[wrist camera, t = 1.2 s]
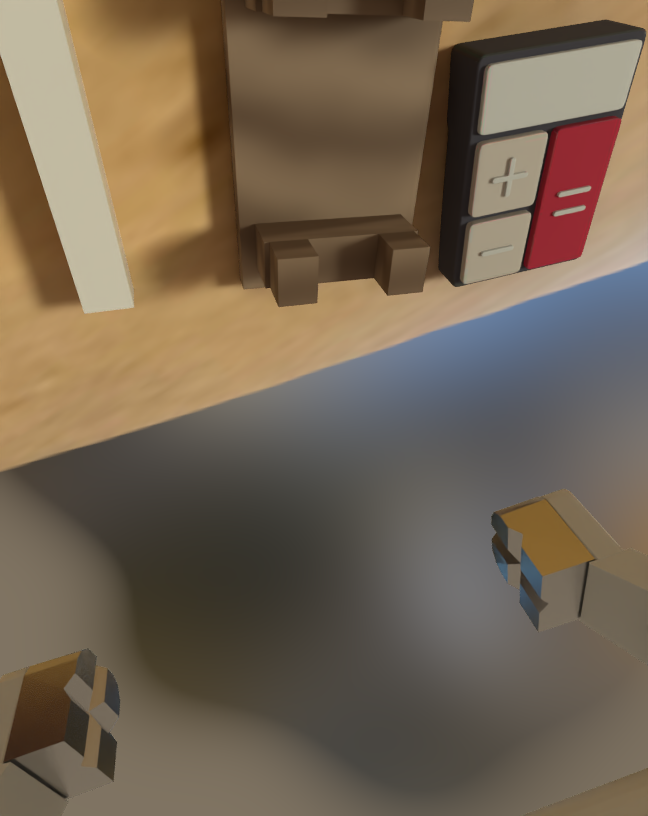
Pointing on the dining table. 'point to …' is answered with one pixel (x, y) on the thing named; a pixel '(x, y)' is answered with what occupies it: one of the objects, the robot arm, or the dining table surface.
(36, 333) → the dining table surface
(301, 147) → the rack
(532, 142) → the calculator
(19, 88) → the clay strip
